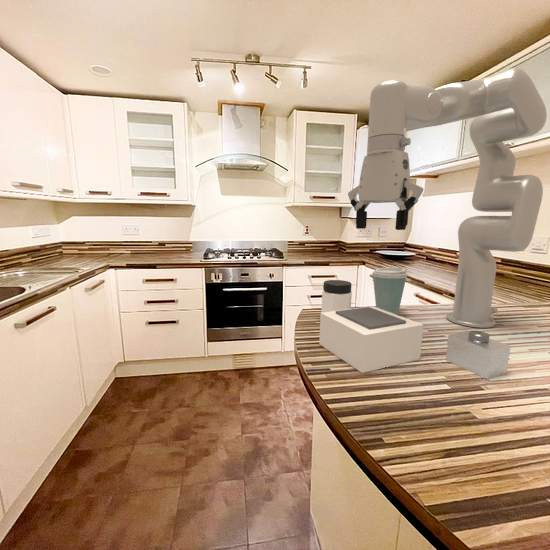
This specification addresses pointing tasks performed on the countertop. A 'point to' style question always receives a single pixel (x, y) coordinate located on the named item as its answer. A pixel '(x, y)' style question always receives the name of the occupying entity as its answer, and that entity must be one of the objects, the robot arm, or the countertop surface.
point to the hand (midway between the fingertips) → (379, 229)
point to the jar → (336, 295)
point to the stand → (370, 337)
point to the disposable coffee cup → (389, 288)
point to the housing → (478, 353)
